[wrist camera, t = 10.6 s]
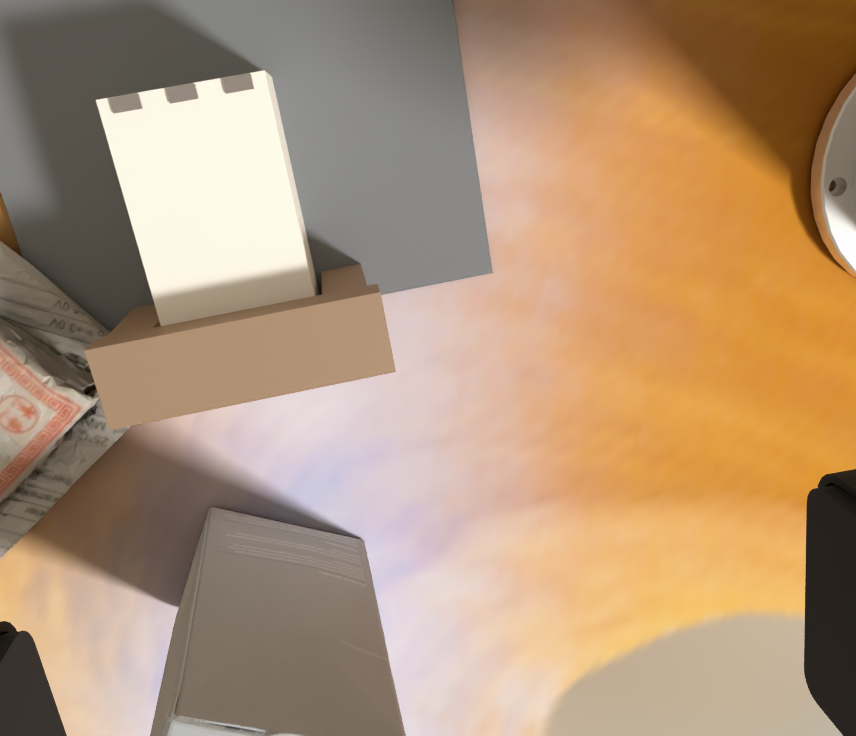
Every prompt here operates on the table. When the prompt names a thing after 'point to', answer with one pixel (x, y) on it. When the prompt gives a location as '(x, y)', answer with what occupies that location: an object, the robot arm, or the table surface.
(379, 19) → the mat
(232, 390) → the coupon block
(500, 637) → the table surface
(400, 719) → the skincare box
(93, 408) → the packaged product
